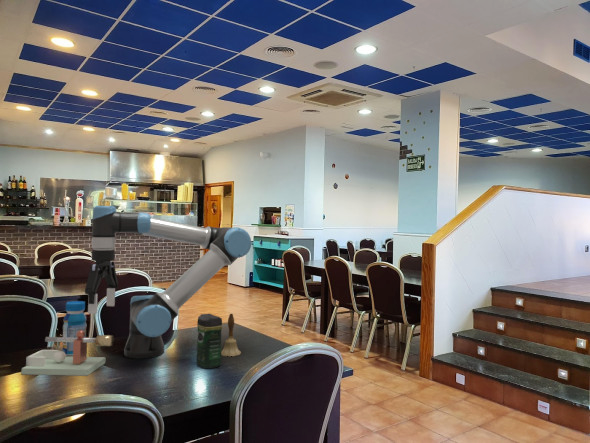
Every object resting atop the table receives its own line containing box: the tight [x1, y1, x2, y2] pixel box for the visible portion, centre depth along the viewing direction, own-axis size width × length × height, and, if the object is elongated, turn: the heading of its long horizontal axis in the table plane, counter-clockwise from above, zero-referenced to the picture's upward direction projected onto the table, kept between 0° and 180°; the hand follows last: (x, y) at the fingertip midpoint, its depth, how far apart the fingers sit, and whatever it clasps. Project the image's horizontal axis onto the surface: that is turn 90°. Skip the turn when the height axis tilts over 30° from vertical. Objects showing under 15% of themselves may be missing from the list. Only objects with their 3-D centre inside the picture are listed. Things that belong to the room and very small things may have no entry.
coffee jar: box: [195, 313, 223, 369], centre depth 159 cm, size 10×8×19 cm
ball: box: [53, 350, 67, 363], centre depth 151 cm, size 4×4×4 cm
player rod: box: [44, 330, 115, 364], centre depth 152 cm, size 23×5×11 cm, turn 91°
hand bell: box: [221, 313, 242, 358], centre depth 174 cm, size 8×8×16 cm
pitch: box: [20, 349, 106, 377], centre depth 151 cm, size 22×14×5 cm, turn 91°
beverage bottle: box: [61, 300, 88, 357], centre depth 170 cm, size 8×8×20 cm
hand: (101, 309), depth 152 cm, fingers open, 13 cm apart
